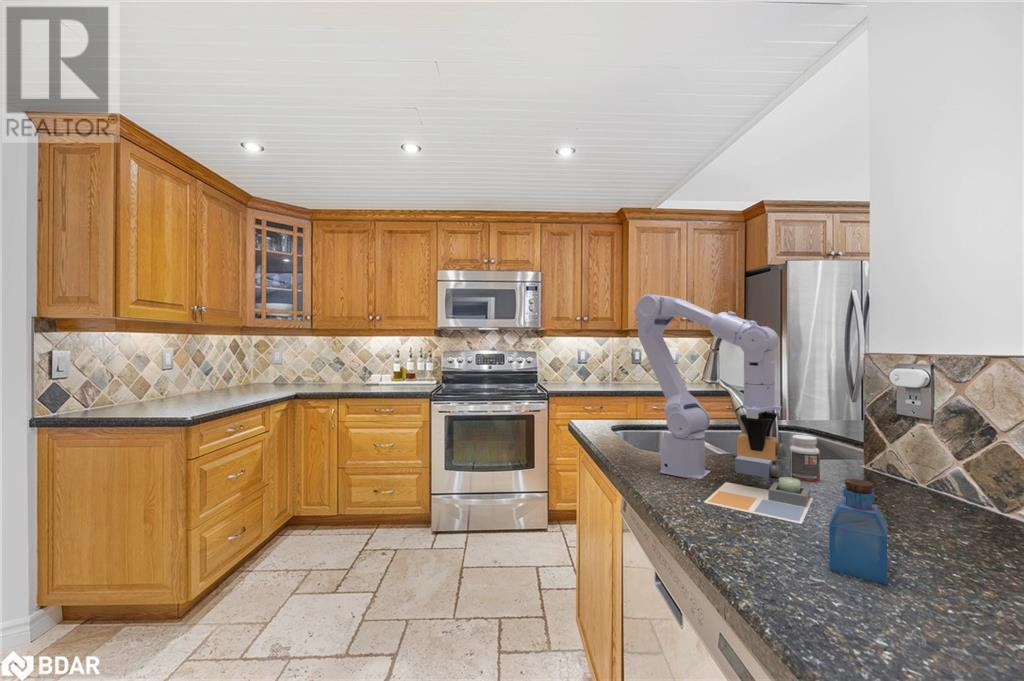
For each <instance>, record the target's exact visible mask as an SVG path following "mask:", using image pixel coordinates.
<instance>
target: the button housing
mask: <svg viewBox="0 0 1024 681" xmlns="http://www.w3.org/2000/svg"><path fill="white" fill-rule="evenodd" d="M767 490H768V500H771V501H776V502H781V503H786V504H791V505H796V506H802V507H807V505H808V502H809V500H810V498H811V488H810V487H806V486H801V485H800V493H792V492H786V491H781V490H780V489H779V482H776V481H773V483H772V485H771V486H770V487H769V488H768V489H767Z"/></svg>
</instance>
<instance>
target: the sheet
mask: <svg viewBox="0 0 1024 681" xmlns="http://www.w3.org/2000/svg"><path fill="white" fill-rule="evenodd" d="M768 490H769V489H764V488H759V487H754V486H747V485H744V484H738V483H731V482H727V481H726V482H724V483H723V484H722V485H721V486H720V487H719V488H718V489H716V490H715V491H714V492H713V493H712V494H710V496H708V498H707V499H706V500H704V501H703V504H707V505H711V506H716V507H722V508H725V509H726V508H727V509H731V510H736V511H739V512H744V513H745V512H746V513H749V514H753V515H758V516H762V517H766V518H767V517H768V518H771V519H772V518H773V519H776V520H781V521H785V522H790V523H795V524H799V525H802V524H803V522H804V520H805V518H806V515H807V513H808V510H809V508H810V506H811V504H812V502H813V500H814V498H813V497H810V500H809V502H808V505H807V507H802V506H796V505H791V504H786V503H781V502H776V501H771V500H768Z"/></svg>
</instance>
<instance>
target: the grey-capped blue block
mask: <svg viewBox="0 0 1024 681" xmlns="http://www.w3.org/2000/svg"><path fill="white" fill-rule="evenodd" d="M734 473H737V474H742V475H748V476H754V477H759V478H766V479H770V477H771V478H778V479H779V477H780V476H779V475H780V467H779V465H775V464H773V460H766V459H759V458H752V457H745V456H738V455H737V456H736V457H735V458H734Z"/></svg>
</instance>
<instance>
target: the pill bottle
mask: <svg viewBox="0 0 1024 681" xmlns="http://www.w3.org/2000/svg"><path fill="white" fill-rule="evenodd" d="M791 440H792V443H793V444H792V445H791V446H790V447H789V477H790V478H795V479H798V480H800V483H801V482H802V483H808V484H809V483H819V482H820V480H821V472H820V471H821V470H820V469H821V464H820V463H821V462H820V461H821V459H820V458H821V455H820V454H821V453H820V452H821V451H820V449H819V448H818V447H817V446H816V445H817V444H818V438H817V437H815V436H812V435H804V434H794V435H792V438H791Z"/></svg>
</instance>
